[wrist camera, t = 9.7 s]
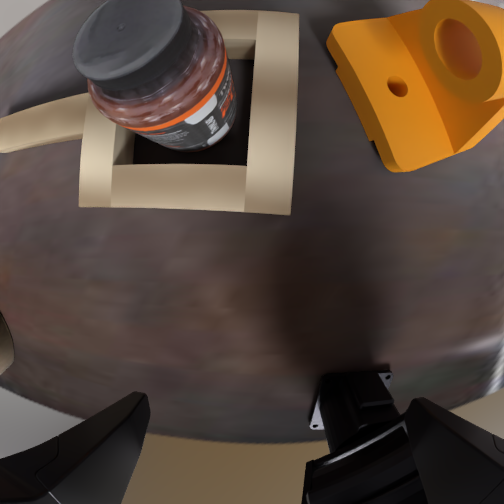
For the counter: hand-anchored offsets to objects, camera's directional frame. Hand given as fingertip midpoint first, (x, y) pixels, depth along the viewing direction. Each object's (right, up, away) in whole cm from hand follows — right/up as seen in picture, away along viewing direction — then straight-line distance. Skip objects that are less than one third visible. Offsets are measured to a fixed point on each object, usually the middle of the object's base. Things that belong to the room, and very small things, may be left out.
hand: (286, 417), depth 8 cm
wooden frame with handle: (-11, +15, +9) cm, 21 cm away
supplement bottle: (-5, +14, +9) cm, 18 cm away
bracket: (+9, +17, +9) cm, 21 cm away
